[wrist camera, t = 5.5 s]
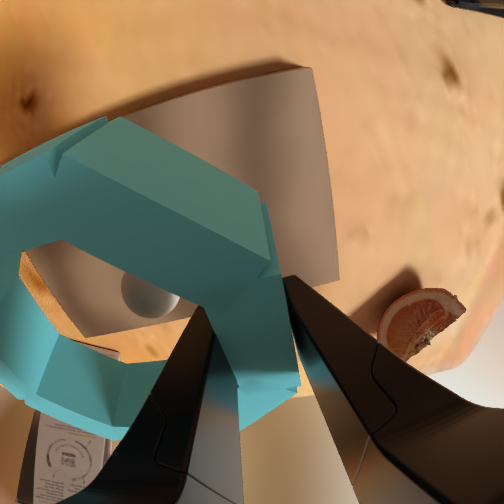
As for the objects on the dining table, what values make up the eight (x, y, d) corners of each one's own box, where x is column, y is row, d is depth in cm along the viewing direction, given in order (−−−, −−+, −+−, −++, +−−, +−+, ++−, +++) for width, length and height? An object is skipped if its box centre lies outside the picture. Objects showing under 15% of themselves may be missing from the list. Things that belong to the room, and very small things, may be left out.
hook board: (303, 66, 15) (368, 76, 9) (333, 267, 23) (373, 349, 17) (1, 175, 16) (-69, 237, 9) (89, 324, 24) (67, 405, 17)
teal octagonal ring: (239, 76, 6) (242, 87, 4) (297, 364, 12) (308, 429, 10) (-51, 198, 7) (-101, 245, 5) (78, 386, 13) (64, 437, 11)
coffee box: (56, 334, 24) (12, 501, 11) (122, 351, 26) (101, 528, 13) (65, 385, 29) (41, 518, 15) (119, 398, 31) (108, 535, 17)
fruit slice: (427, 257, 24) (458, 295, 20) (451, 291, 27) (476, 326, 23) (354, 319, 27) (374, 363, 23) (388, 343, 30) (406, 381, 26)
